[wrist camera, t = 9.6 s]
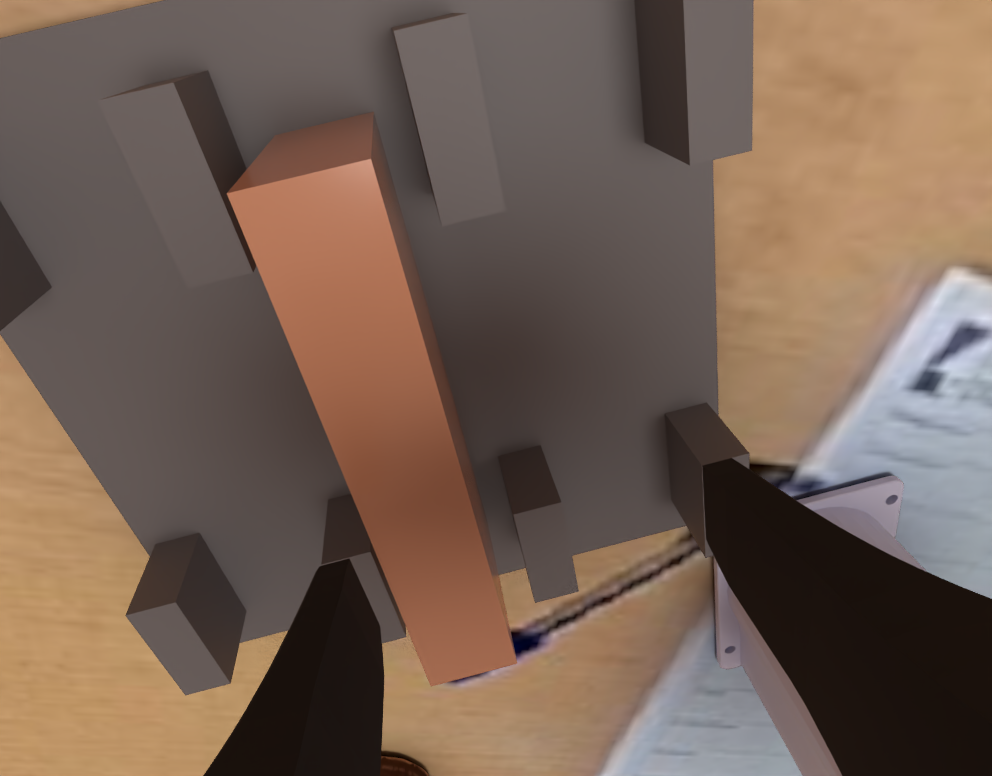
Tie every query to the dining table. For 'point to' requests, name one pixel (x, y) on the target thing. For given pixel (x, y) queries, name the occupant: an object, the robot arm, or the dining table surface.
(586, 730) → the dining table surface
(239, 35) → the comb rack
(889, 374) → the dining table surface
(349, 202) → the clay strip
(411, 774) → the coffee cup
